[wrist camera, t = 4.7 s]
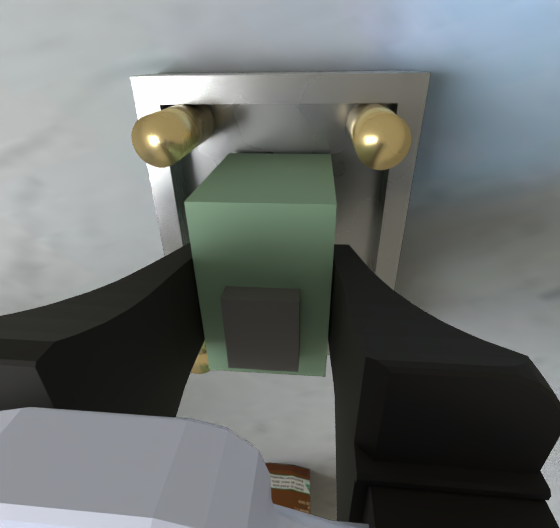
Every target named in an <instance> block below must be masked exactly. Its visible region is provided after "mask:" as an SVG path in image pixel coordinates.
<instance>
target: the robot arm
mask: <svg viewBox="0 0 560 528" xmlns="http://www.w3.org/2000/svg"><path fill="white" fill-rule="evenodd" d="M204 340H205V337H204V330H203V324H202V317H201V311H200V304H199V297H198V291H197V284H196V278H195V271H194V264H193V258H192V251H191V244H190V243H188V244H186V245H184V246H182V247H180V248H179V249H177V250H175V251H173V252H172V253H170V254H168V255H166V256H165V257H163V258H161V259H159V260H157V261H156V262H154V263H152V264H150V265H148V266H146V267H144V268H142V269H140V270H138V271H136V272H134V273H132V274H131V275H129V276H127V277H124V278H122V279H120V280H118V281H115V282H113V283H111V284H108V285H106V286H103V287H101V288H98V289H96V290H93V291H90V292H88V293H84V294H81V295H78V296H75V297H72V298H69V299H66V300H63V301H60V302H57V303H53V304H50V305H46V306H42V307H38V308H34V309H30V310H26V311H22V312H17V313H13V314H8V315H4V316H0V528H559V526H558V524H557V522H556V520H555V518H554V516H553V514H552V513H551V511H550V509H549V507H548V505H547V503H546V501H545V500H549V498H550V497H551V491H550V488H549V486H548V484H547V483H546V481H545V479H544V477H543V475H542V473H541V471H540V470H541V468H542V466H543V465H544V463H545V461H546V459H547V458H548V456H549V454H550V452H551V451H552V449H553V447H554V445H555V444H556V442H557V440H558V438H559V437H560V401H559V400H558V398H557V396H556V395H555V393H554V392H553V390H552V389H551V387H550V386H549V384H548V383H547V381H546V380H545V378H544V377H543V376H542V374H541V373H540V372H539V370H538V369H537V368H536V366H535V365H534V364H533V362H532V361H531V360H530V359H529V357H528V356H526V355H523V354H520V353H518V352H515V351H512V350H509V349H506V348H504V347H501V346H498V345H495V344H492V343H490V342H487V341H484V340H482V339H479V338H477V337H475V336H472V335H470V334H468V333H466V332H463V331H461V330H459V329H457V328H455V327H452V326H450V325H448V324H446V323H444V322H442V321H441V320H439V319H437V318H435V317H433V316H432V315H430V314H428V313H426V312H425V311H423V310H421V309H420V308H418V307H416V306H415V305H413V304H412V303H411V302H409V301H408V300H406V299H405V298H403V297H402V296H401V295H399V294H398V293H397V292H395V291H394V290H393V289H391V288H390V287H389V286H388V285H387V284H386V283H385V282H383V281H382V280H381V279H380V278H379V277H378V276H377V275H376V274H375V273H374V272H373V271H372V270H371V269H370V268H369V267H368V266H367V265H366V264H365V263H364V261H363V260H362V259H361V258H360V257H359V256H358V254H357V253H356V252H355V251H354V250H353V248H352V247H351V246H350V245H347V244H334V254H333V270H332V285H331V300H330V315H329V330H328V344H329V351H330V359H331V367H332V374H333V382H334V394H335V428H336V484H337V521H331V520H328V519H324V518H321V517H317V516H314V515H311V514H307V513H304V512H300V511H297V510H293V509H290V508H286V507H283V506H280V505H276V504H273V502H272V499H271V480H270V473H269V471H268V469H267V467H266V465H265V463H264V461H263V459H262V457H261V454H260V452H259V451H258V450H257V449H256V448H255V447H254V446H253V445H252V444H250V443H249V442H247V441H246V440H244V439H243V438H241V437H240V436H239V435H237V434H236V433H234V432H233V431H231V430H230V429H228V428H227V427H223V426H219V425H214V424H210V423H206V422H202V421H198V420H194V419H188V418H175V417H176V414H177V411H178V407H179V404H180V401H181V398H182V395H183V391H184V388H185V385H186V383H187V380H188V377H189V375H190V372H191V370H192V368H193V365H194V363H195V361H196V359H197V356H198V354H199V352H200V350H201V347H202V345H203V343H204Z"/></svg>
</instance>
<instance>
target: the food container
mask: <svg viewBox="0 0 560 528" xmlns="http://www.w3.org/2000/svg"><path fill="white" fill-rule="evenodd" d="M265 465H266V467H267V469H268V471H269V473H270V480H271V499H272V502H273V504H276V505H280V506H283V507H286V508H290V509H293V510H297V511H300V512H304V513H307V514H311V509H310V469H306V468H302V467H298V466H295V465H287V464H276V463H265Z"/></svg>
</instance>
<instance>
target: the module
mask: <svg viewBox="0 0 560 528" xmlns="http://www.w3.org/2000/svg"><path fill="white" fill-rule="evenodd" d="M184 205H185V211H186V218H187V225H188V231H189V238H190V244H191V251H192V258H193V264H194V271H195V278H196V284H197V291H198V297H199V304H200V311H201V317H202V324H203V330H204V337H205V344H206V350H207V357H208V363H209V370H224V371H241V372H257V373H274V374H290V375H307V376H323V377H325V375H326V360H327V345H328V330H329V315H330V300H331V285H332V270H333V254H334V239H335V224H336V209H337V202H336V194H335V185H334V177H333V168H332V160H331V154H269V153H229V154H228V155H227V156H226V157H225V158H224V159H223V160H222V161H221V162H220V163H219V165H218V166H217V167H216V168H215V169H214V170H213V171H212V172H211V173H210V174H209V175H208V176H207V178H206V179H205V180H204V181H203V182H202V183H201V184H200V185H199V186H198V187H197V188H196V189H195V190H194V192H193V193H192V194H191V195H190V196H189V197H188V198H187V199H186V200H185V201H184Z"/></svg>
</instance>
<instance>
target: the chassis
mask: <svg viewBox="0 0 560 528" xmlns="http://www.w3.org/2000/svg"><path fill="white" fill-rule="evenodd" d="M130 79H131V84H132V89H133V95H134V100H135V105H136V110H137V115H138V120H137V122H136V123H135V125H134V127H133V130H132V143H133V146H134V149H135V151H136V152H137V154H138V155H139V156H140V158H141V159H142V160H143V161H145V162H146V163H147V167H148V172H149V178H150V183H151V188H152V193H153V198H154V204H155V209H156V214H157V219H158V224H159V230H160V235H161V240H162V245H163V250H164V255H165V256H166V255H168V254H170V253H172V252H173V251H175V250H177V249H179V248H180V247H182V246H184V245H186V244H188V243H190V238H189V231H188V225H187V218H186V211H185V205H184V201H185V200H186V199H187V198H188V197H189V196H190V195H191V194H192V193H193V192H194V190H195V189H196V188H197V187H198V186H199V185H200V184H201V183H202V182H203V181H204V180H205V179H206V178H207V176H208V175H209V174H210V173H211V172H212V171H213V170H214V169H215V168H216V167H217V166H218V165H219V163H220V162H221V161H222V160H223V159H224V158H225V157H226V156H227V155H228V154H229V153H269V154H331V160H332V168H333V177H334V185H335V194H336V202H337V209H336V224H335V239H334V244H347V245H350V246H351V247H352V248H353V250H354V251H355V252H356V253H357V254H358V256H359V257H360V258H361V259H362V260H363V261H364V263H365V264H366V265H367V266H368V267H369V268H370V269H371V270H372V271H373V272H374V273H375V274H376V275H377V276H378V277H379V278H380V279H381V280H382V281H383V282H385V283H386V284H387V285H388V286H389V287H390V288H391V289H393V290H394V288H395V282H396V276H397V270H398V264H399V258H400V252H401V246H402V240H403V234H404V229H405V223H406V217H407V211H408V205H409V199H410V193H411V187H412V181H413V175H414V169H415V163H416V157H417V151H418V145H419V139H420V133H421V127H422V121H423V115H424V109H425V103H426V97H427V91H428V85H429V79H430V73H428V72H421V71H414V70H404V71H325V72H246V73H167V74H149V75H139V76H130ZM327 355H330V351H329V344H328V345H327ZM208 371H210V370H209V363H208V357H207V350H206V344H205V340H204V343H203V345H202V347H201V350H200V352H199V354H198V356H197V359H196V361H195V363H194V365H193V368H192V370H191V373H195V374H203V373H206V372H208Z"/></svg>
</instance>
